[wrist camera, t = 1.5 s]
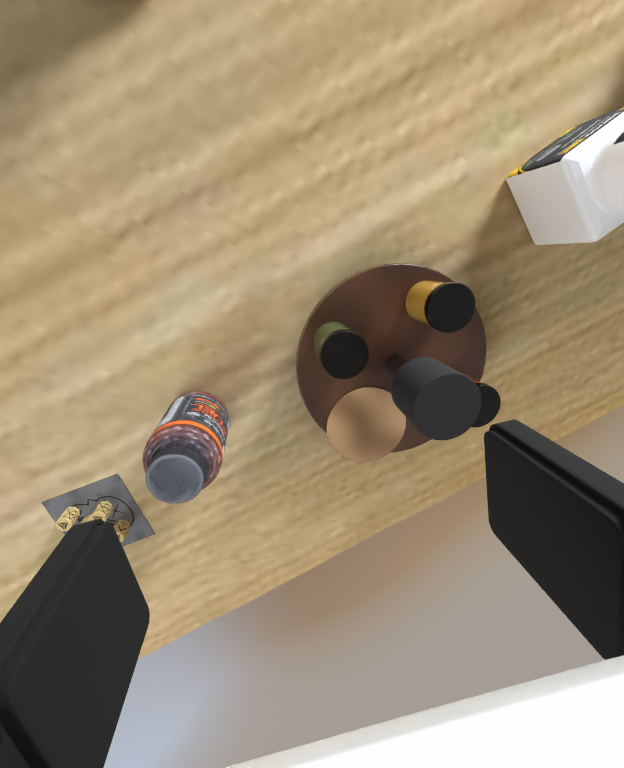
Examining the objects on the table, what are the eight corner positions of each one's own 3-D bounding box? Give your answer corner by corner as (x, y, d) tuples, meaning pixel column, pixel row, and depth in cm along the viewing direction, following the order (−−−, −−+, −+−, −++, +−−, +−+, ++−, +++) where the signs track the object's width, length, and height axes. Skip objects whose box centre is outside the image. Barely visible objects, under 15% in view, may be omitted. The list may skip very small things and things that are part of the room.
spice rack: (342, 229, 32) (387, 214, 21) (512, 308, 36) (623, 330, 25) (263, 427, 37) (266, 500, 26) (422, 477, 41) (483, 557, 30)
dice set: (61, 509, 38) (51, 522, 37) (109, 491, 39) (101, 503, 37) (87, 546, 40) (79, 560, 38) (133, 529, 40) (127, 542, 38)
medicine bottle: (571, 126, 34) (730, 60, 22) (598, 200, 36) (753, 174, 25) (503, 177, 34) (624, 138, 23) (533, 246, 37) (657, 241, 25)
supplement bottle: (241, 409, 38) (235, 469, 27) (209, 455, 39) (190, 530, 28) (188, 377, 36) (159, 427, 25) (155, 425, 37) (114, 493, 26)
